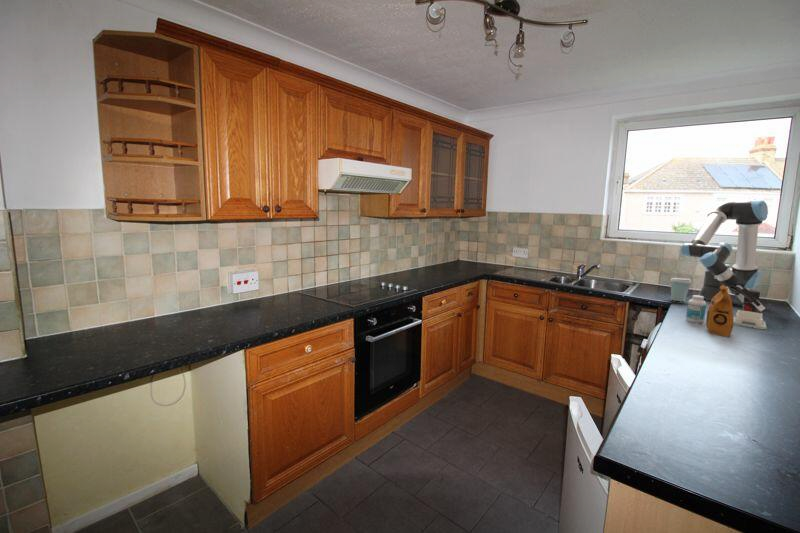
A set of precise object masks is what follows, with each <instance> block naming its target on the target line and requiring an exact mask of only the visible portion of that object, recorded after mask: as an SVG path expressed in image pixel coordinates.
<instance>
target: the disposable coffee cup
mask: <svg viewBox="0 0 800 533" xmlns="http://www.w3.org/2000/svg"><path fill="white" fill-rule="evenodd" d="M691 284H692V280H691V279H690V278H683V277H682V278H681V277H671V278H670V295H671V296H670V299H671V301H672V300H676V301H684V302H685V300H686V298H687V295H688V291H689V289H690V288H691V287H690V286H691Z"/></svg>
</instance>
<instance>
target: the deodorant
mask: <svg viewBox="0 0 800 533" xmlns="http://www.w3.org/2000/svg"><path fill="white" fill-rule="evenodd" d="M747 290H748V291H749V292H751V293H752V294H753V295H754V296H755V297H757V298H758V301H759V302H760V297H761V296H760V295H761V291H759V290H753V289H747ZM750 302H751V301H750V300H749V299H747V298H746V297H745V296H744V301H743V302H742V308H741V310H742V311H749V312H755V313H758V309H757V308H756V307H755V306H754V305H753V304H752V303H750Z"/></svg>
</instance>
